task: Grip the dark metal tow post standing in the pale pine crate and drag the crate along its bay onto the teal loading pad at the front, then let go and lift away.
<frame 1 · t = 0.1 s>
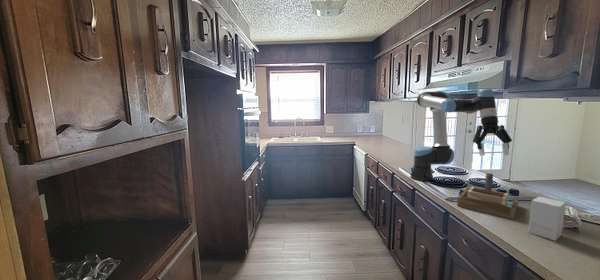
hand: (494, 155, 138), 28 cm above the table, tool tilted 20°, fingers open, 13 cm apart
bay: (487, 205, 140), on the table
crate: (487, 189, 135), point 11 cm above the table, slide at 0.0 cm
supplement box: (544, 234, 111), on the table
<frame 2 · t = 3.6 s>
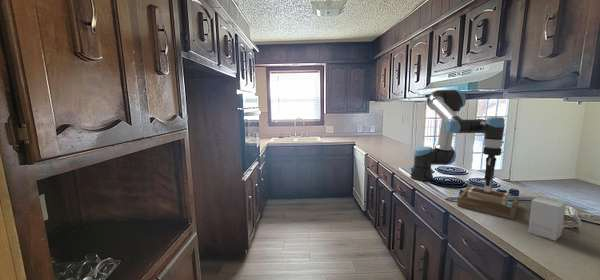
hand: (487, 190, 136), 10 cm above the table, tool pointing down, fingers closed on crate, 3 cm apart
crate: (487, 189, 135), point 10 cm above the table, slide at 0.0 cm, touching gripper
everything else where it was.
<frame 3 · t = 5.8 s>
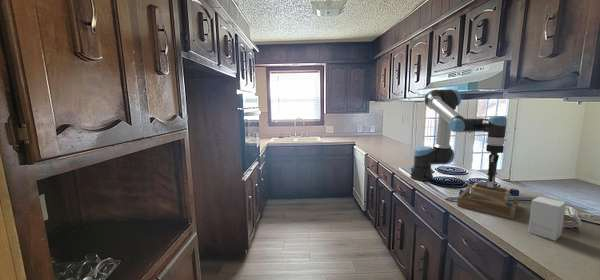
hand: (490, 186, 142), 10 cm above the table, tool pointing down, fingers closed on crate, 3 cm apart
crate: (490, 185, 142), point 11 cm above the table, slide at 9.5 cm, touching gripper
everything else where it was.
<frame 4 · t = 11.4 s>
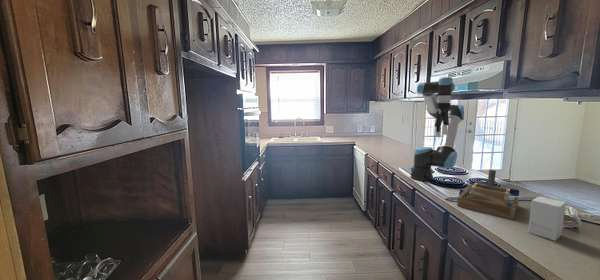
hand: (441, 136, 164), 35 cm above the table, tool pointing down, fingers open, 13 cm apart
crate: (490, 185, 142), point 10 cm above the table, slide at 9.5 cm
everything else where it was.
at the end: crate slide at 9.5 cm; the gripper is holding nothing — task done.
